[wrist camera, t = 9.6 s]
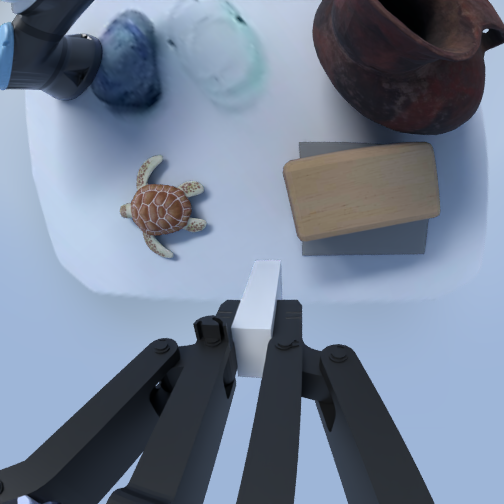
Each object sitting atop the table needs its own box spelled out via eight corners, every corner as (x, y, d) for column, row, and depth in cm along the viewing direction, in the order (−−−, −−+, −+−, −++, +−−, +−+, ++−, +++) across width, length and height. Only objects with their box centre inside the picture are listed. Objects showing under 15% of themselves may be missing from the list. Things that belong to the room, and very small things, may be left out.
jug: (463, 137, 32) (569, 147, 9) (328, 141, 37) (373, 128, 14) (428, 11, 24) (495, -47, 1) (294, 5, 29) (286, -96, 6)
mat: (299, 142, 38) (299, 142, 38) (430, 149, 35) (431, 149, 34) (302, 254, 45) (302, 255, 44) (423, 253, 41) (424, 253, 41)
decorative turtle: (120, 161, 44) (104, 163, 39) (204, 150, 41) (193, 150, 37) (133, 253, 50) (119, 263, 46) (212, 256, 48) (203, 267, 43)
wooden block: (298, 224, 43) (415, 202, 38) (298, 245, 33) (443, 218, 29) (283, 161, 39) (405, 141, 35) (280, 165, 30) (434, 141, 26)
